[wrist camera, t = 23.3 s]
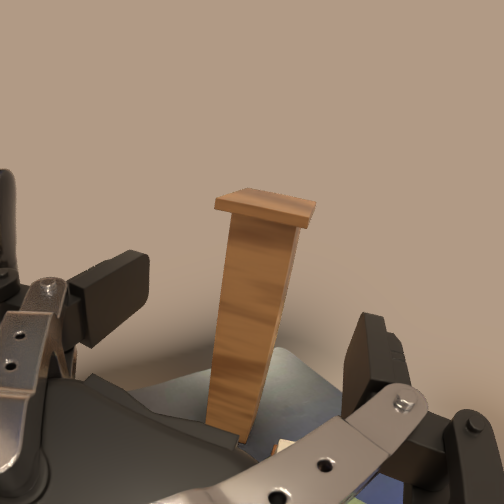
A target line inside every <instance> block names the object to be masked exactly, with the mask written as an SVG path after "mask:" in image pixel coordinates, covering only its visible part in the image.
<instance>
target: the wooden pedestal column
mask: <svg viewBox="0 0 504 504" xmlns="http://www.w3.org/2000/svg"><path fill="white" fill-rule="evenodd" d="M315 206H316V202H314V201H310V200H305V199H301V198H296V197H291V196H286V195H281V194H276V193H272V192H266V191H261V190H256V189H251V188H245V189H242V190H239V191H236V192H233V193H230V194H227V195H224V196H221V197H218V198H216V201H215V207H214V209H216V210H221V211H226V212H231V213H232V215H231V223H230V230H229V236H228V243H227V251H226V258H225V265H224V272H223V280H222V287H221V295H220V303H219V310H218V318H217V326H216V335H215V343H214V351H213V360H212V368H211V377H210V386H209V395H208V404H207V413H206V423H205V424H207V425H210V426H213V427H216V428H219V429H222V430H225V431H228V432H231V433H234V434H237V435H240V437H239V441H238V442H240V443H243V444H246V441H247V439H248V436H249V434H250V431H251V428H252V426H253V423H254V420H255V418H256V414H257V411H258V407H259V403H260V400H261V396H262V392H263V388H264V384H265V380H266V377H267V373H268V369H269V365H270V361H271V357H272V353H273V349H274V345H275V340H276V337H277V332H278V328H279V324H280V320H281V315H282V311H283V307H284V302H285V298H286V294H287V289H288V285H289V280H290V276H291V271H292V267H293V262H294V257H295V253H296V248H297V243H298V239H299V234H300V229H301V228H304V229H307V227H308V225H309V222H310V220H311V217H312V215H313V213H314V210H315Z"/></svg>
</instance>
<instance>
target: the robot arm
mask: <svg viewBox="0 0 504 504" xmlns="http://www.w3.org/2000/svg"><path fill="white" fill-rule="evenodd" d="M149 263H150V260H149V257H148V255H147V254H144V253H140V252H137V251H133V250H128V251H126V252H124V253H122V254H120V255H118V256H116V257H114V258H112V259H110V260H105V261H103V262H101V263H99V264H97V265H95V267H94V266H93V267H91V268H89V269H88V271H87V270H86V271H84V272H82V273H80V274H78V275H76V276H74V277H73V278H71V279H69V280H67V281H64V280H63V279H61V278H56V277H46V278H42V279H38V280H37V281H35V282H33V283H32V284H31V285H30V286H27V285H23V284H20V280H19V274H18V266H17V258H16V183H15V178H14V175H13V173H12V172H11V171H10V170H8V169H0V504H348V503H349V502H350V501H351V500H352V499H353V498H354V497H355V496H356V495H358V494H359V493H360V492H361V491H362V490H363V489H364V488H365V487H366V486H367V485H368V484H369V483H370V482H371V481H372V480H373V479H374V478H375V477H376V476H377V475H378V474H379V473H381V474H384V475H386V476H389V477H392V478H394V479H397V480H399V481H402V482H404V491H403V504H504V471H503V467H502V463H501V459H500V454H499V450H498V447H497V443H496V439H495V436H494V432H493V429H492V427H491V424H490V422H489V421H488V420H487V419H486V418H485V417H484V416H483V415H482V414H480V413H479V412H477V411H474V410H470V409H464V410H460V411H458V412H457V413H456V414H455V416H454V417H453V418H452V420H449V419H447V418H444V417H441V416H439V415H436V414H434V413H431V412H429V411H428V402H427V400H426V398H425V397H424V395H423V394H422V393H421V392H420V391H418V390H417V389H415V388H414V387H412V386H411V381H410V377H409V372H408V368H407V364H406V362H405V356H404V354H403V353H404V352H403V348H402V344H401V342H400V341H399V339H398V338H397V337H396V336H395V334H394V333H389V332H387V331H386V326H385V322H384V318H383V317H382V316H378V315H374V314H369V313H364V312H363V313H362V314H361V316H360V318H359V321H358V323H357V326H356V329H355V331H354V334H353V337H352V339H351V342H350V345H349V347H348V350H347V353H346V356H345V361H344V373H343V394H342V411H341V416H339V415H338V416H335V417H333V418H332V419H330V420H329V421H327V422H326V423H324V424H323V425H321V426H320V427H318V428H317V429H315V430H314V431H312V432H311V433H309V434H308V435H306V436H304V437H303V438H301V439H300V440H298V441H296V442H295V443H293V444H292V445H290V446H288V447H287V448H285V449H283V450H281V451H280V452H278V453H276V454H275V455H273V456H271V457H269V458H267V459H266V460H264V461H262V462H260V463H259V462H258V461H257V460H255V459H254V458H253V457H252V456H250V455H249V454H247V453H246V452H245V451H243V450H241V449H239V448H238V447H237V445H238V441H239V437H240V435H237V434H234V433H231V432H228V431H225V430H222V429H219V428H216V427H213V426H210V425H207V424H204V423H202V422H199V421H193V420H188V419H182V418H177V417H171V416H166V415H162V414H157V413H154V412H152V411H150V410H149V409H148V408H146V407H145V406H144V405H142V404H141V403H140V402H139V401H137V400H136V399H135V398H133V397H132V396H131V395H130V394H129V393H127V392H126V391H125V390H124V389H122V388H120V387H118V386H116V385H114V384H112V383H110V382H108V381H106V380H104V379H102V378H101V377H99V376H97V375H95V374H93V373H92V374H91V375H90V376H89V377H88V378H87V379H86V380H85V381H81V380H76V379H75V372H76V360H77V348H76V344H77V343H79V342H80V343H82V344H83V345H85V346H87V347H89V348H91V349H92V348H93V347H94V346H95V345H96V344H98V343H99V342H100V341H101V340H102V339H104V338H105V337H106V336H107V335H108V334H110V333H111V332H112V331H113V330H115V329H116V328H117V327H118V326H119V325H120V324H122V323H123V322H124V321H125V320H127V319H128V318H129V317H130V316H131V315H132V314H134V313H135V312H136V311H138V310H139V309H140V308H141V307H142V306H143V305H144V304H145V303H146V301H147V298H148V294H149V266H150V264H149Z"/></svg>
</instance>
